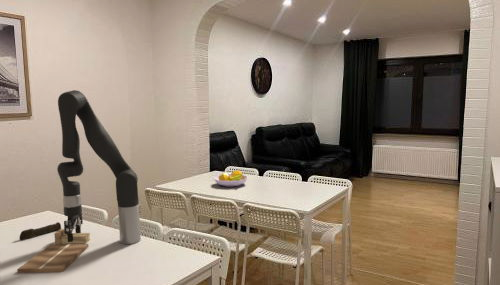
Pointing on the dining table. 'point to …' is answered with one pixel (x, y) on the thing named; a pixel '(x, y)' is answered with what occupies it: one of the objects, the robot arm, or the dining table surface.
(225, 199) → the dining table surface
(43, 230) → the hand tool
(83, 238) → the marking gauge
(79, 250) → the walnut board
